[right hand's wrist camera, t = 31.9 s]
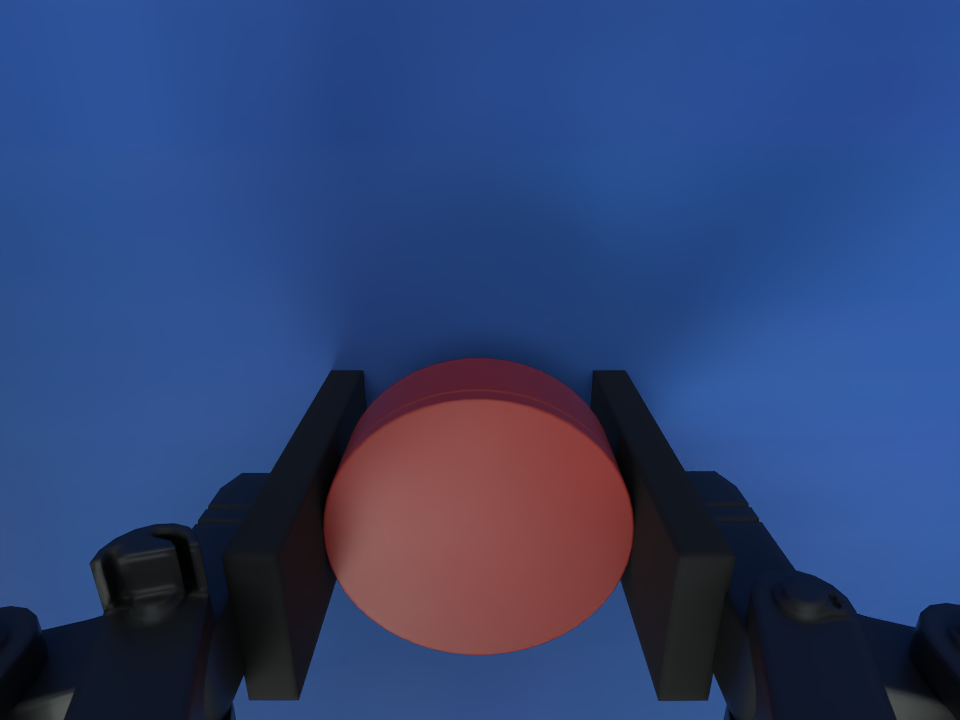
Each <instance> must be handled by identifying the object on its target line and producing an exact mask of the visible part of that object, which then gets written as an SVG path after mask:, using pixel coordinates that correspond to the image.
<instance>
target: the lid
mask: <svg viewBox="0 0 960 720" xmlns="http://www.w3.org/2000/svg"><path fill="white" fill-rule="evenodd" d="M323 535H324V542H325V549H326V552H327V556H328V559H329V563H330V565H331V568H332V570H333V572H334V574H335V576H336V578H337V580H338V582H339V584H340V585H341V587H342V588H343V590H344V591H345V593H346V594H347V595H348V597H349V598H350V599H351V600H352V601H353V602H354V604H355V605H356V606H357V607H358V608H359V609H360V610H361V611H362V612H363V613H365V614H366V615H367V616H368V617H369V618H370V619H371V620H373V621H374V622H376V623H377V624H378V625H380V626H381V627H383V628H384V629H386V630H388V631H389V632H391V633H393V634H395V635H397V636H399V637H400V638H403V639H405V640H408V641H410V642H412V643H415V644H417V645H420V646H424V647H427V648H430V649H434V650H439V651H444V652H449V653H456V654H467V655H492V654H501V653H509V652H514V651H519V650H524V649H528V648H531V647H534V646H537V645H540V644H543V643H546V642H548V641H550V640H553V639H555V638H557V637H559V636H561V635H563V634H565V633H566V632H568V631H570V630H572V629H573V628H575V627H577V626H578V625H579V624H581V623H582V622H583V621H585V620H586V619H587V618H589V617H590V616H591V615H592V614H593V613H594V612H595V611H596V610H597V609H598V608H599V607H601V606H602V604H603V603H604V602H605V601H606V600H607V598H608V597H609V596H610V595H611V593H612V592H613V591H614V589H615V587H616V586H617V584H618V582H619V581H620V579H621V578H622V575H623V573H624V571H625V568H626V566H627V564H628V561H629V557H630V553H631V549H632V544H633V535H634V516H633V508H632V504H631V499H630V495H629V492H628V490H627V487H626V485H625V482H624V480H623V477H622V475H621V472H620V469H619V467H618V464H617V462H616V459H615V457H614V454H613V452H612V449H611V447H610V444H609V442H608V439H607V437H606V434H605V431H604V429H603V427H602V426H601V424H600V422H599V420H598V419H597V417H596V415H595V414H594V413H593V411H592V410H591V409H590V408H589V406H588V405H587V404H586V403H585V402H584V401H583V400H582V399H581V398H580V397H579V396H578V395H577V394H576V393H575V392H574V391H573V390H571V389H570V388H569V387H567V386H566V385H564V384H563V383H562V382H560V381H559V380H557V379H555V378H554V377H552V376H550V375H548V374H546V373H544V372H542V371H540V370H537V369H535V368H532V367H529V366H527V365H524V364H520V363H515V362H511V361H507V360H500V359H491V358H465V359H458V360H450V361H446V362H442V363H438V364H434V365H430V366H428V367H425V368H423V369H420V370H418V371H415V372H413V373H411V374H409V375H408V376H406V377H404V378H402V379H400V380H399V381H397V382H396V383H394V384H393V385H392V386H390V387H389V388H388V389H386V390H385V391H384V392H382V393H381V394H380V395H379V396H378V397H377V398H376V399H375V400H374V401H373V402H372V403H371V404H370V406H369V407H368V408H367V410H366V411H365V412H364V414H363V415H362V416H361V418H360V420H359V421H358V423H357V425H356V427H355V429H354V431H353V433H352V435H351V438H350V440H349V442H348V445H347V447H346V450H345V452H344V455H343V457H342V459H341V462H340V464H339V467H338V469H337V472H336V474H335V477H334V479H333V481H332V484H331V487H330V490H329V492H328V495H327V499H326V504H325V509H324V515H323Z"/></svg>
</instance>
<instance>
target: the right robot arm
mask: <svg viewBox="0 0 960 720" xmlns="http://www.w3.org/2000/svg"><path fill="white" fill-rule="evenodd" d="M591 410H592V411H593V413H594V414H595V415H596V417H597V419H598V420H599V422H600V424H601V426H602V427H603V429H604V431H605V434H606V437H607V439H608V442H609V444H610V447H611V449H612V452H613V454H614V457H615V459H616V462H617V464H618V467H619V469H620V472H621V475H622V477H623V480H624V482H625V485H626V487H627V490H628V492H629V495H630V499H631V504H632V508H633V516H634V535H633V544H632V549H631V553H630V557H629V561H628V564H627V566H626V568H625V571H624V573H623V575H622V578H621V579H620V580H621V583H622V586H623V589H624V592H625V596H626V599H627V602H628V605H629V608H630V611H631V615H632V618H633V621H634V624H635V627H636V631H637V634H638V637H639V640H640V643H641V646H642V650H643V653H644V656H645V659H646V662H647V666H648V669H649V672H650V675H651V678H652V681H653V685H654V688H655V691H656V694H657V697H658V701H698V700H708V697H709V692H710V687H711V682H712V677H713V673H714V675H715V678H716V680H717V682H718V685H719V687H720V689H721V692H722V694H723V696H724V698H725V701H726V703H727V706H726V711H725V716H724V720H960V605H956V604H950V603H943V604H936V605H930V606H928V607H927V608H926V609H925V610H923V611H922V612H921V613H920V616H919V619H918V622H917V625H916V628H915V627H911V626H906V625H902V624H897V623H893V622H888V621H884V620H880V619H875V618H871V617H867V616H863V615H860V614H857V613H856V611H855V609H854V608H853V606H852V605H851V603H850V601H849V600H848V598H847V597H846V596H844V595H843V594H842V593H841V592H840V591H838V590H837V589H836V588H835V587H834V586H832V585H831V584H829V583H827V582H825V581H823V580H821V579H819V578H817V577H815V576H813V575H810V574H807V573H803V572H800V571H796V570H795V569H794V567H793V566H792V564H791V563H790V562H789V560H788V559H787V557H786V556H785V555H784V553H783V552H782V550H781V549H780V548H779V546H778V545H777V543H776V542H775V540H774V539H773V538H772V536H771V535H770V533H769V532H768V531H767V529H766V528H765V526H764V525H763V524H762V522H759V518H758V516H757V515H756V514H755V512H754V511H753V509H752V508H751V507H749V504H748V502H747V501H746V500H745V498H744V497H743V495H742V494H741V492H740V491H739V490H738V488H737V487H736V486H735V485H734V484H732V483H731V482H729V481H728V480H726V479H725V478H724V477H722V476H721V475H719V474H718V473H716V472H715V471H685V470H684V469H683V467H682V465H681V464H680V462H679V460H678V458H677V457H676V455H675V453H674V452H673V450H672V448H671V447H670V445H669V443H668V442H667V440H666V438H665V437H664V435H663V433H662V432H661V430H660V428H659V427H658V425H657V423H656V421H655V420H654V418H653V416H652V415H651V413H650V411H649V410H648V408H647V406H646V405H645V403H644V401H643V400H642V398H641V396H640V395H639V393H638V391H637V389H636V388H635V386H634V384H633V383H632V381H631V379H630V378H629V376H628V374H627V373H626V371H593V384H592V397H591ZM365 411H366V404H365V391H364V378H363V371H330V373H329V375H328V377H327V378H326V380H325V382H324V383H323V385H322V387H321V388H320V390H319V392H318V393H317V395H316V397H315V399H314V400H313V402H312V404H311V405H310V407H309V409H308V410H307V412H306V414H305V415H304V417H303V419H302V420H301V422H300V424H299V426H298V427H297V429H296V431H295V432H294V434H293V436H292V437H291V439H290V441H289V442H288V444H287V446H286V447H285V449H284V451H283V453H282V454H281V456H280V458H279V459H278V461H277V463H276V464H275V466H274V468H273V469H272V471H271V473H242V474H240V475H239V476H237V477H236V478H235V479H233V480H232V481H230V482H229V483H227V484H226V485H225V486H223V487H222V488H221V489H220V490H219V491H218V493H217V494H216V496H215V497H214V499H213V500H212V501H211V503H210V504H209V506H208V509H206V510H205V511H204V513H203V514H202V516H201V517H200V519H199V520H198V524H195V526H194V527H193V528H192V529H191V528H189V527H187V526H183V525H179V524H174V523H171V524H155V525H151V526H147V527H143V528H139V529H135V530H133V531H131V532H128V533H126V534H124V535H122V536H120V537H118V538H115V539H114V540H113V541H111V542H110V543H109V544H107V545H106V546H104V547H103V548H102V549H100V550H99V551H98V553H97V554H96V555H95V557H94V558H93V559H92V561H91V562H90V566H91V570H92V573H93V576H94V580H95V583H96V587H97V590H98V593H99V597H100V600H101V603H102V607H103V610H104V614H103V616H99V617H96V618H93V619H89V620H85V621H81V622H77V623H72V624H68V625H64V626H59V627H55V628H50V629H46V630H41V627H40V624H39V621H38V618H37V616H36V615H35V614H34V613H32V612H31V611H30V610H29V609H27V608H21V607H13V606H9V607H2V608H0V720H236V717H235V711H234V706H233V699H234V697H235V694H236V692H237V690H238V687H239V685H240V683H241V680H242V678H243V676H245V681H246V686H247V691H248V697H249V700H299V697H300V694H301V691H302V688H303V685H304V681H305V678H306V675H307V672H308V669H309V665H310V662H311V659H312V656H313V653H314V649H315V646H316V643H317V640H318V637H319V633H320V630H321V627H322V624H323V621H324V617H325V614H326V611H327V608H328V605H329V601H330V598H331V595H332V592H333V589H334V585H335V582H336V579H337V578H336V576H335V574H334V572H333V570H332V568H331V565H330V563H329V559H328V556H327V552H326V549H325V542H324V535H323V515H324V509H325V504H326V499H327V495H328V492H329V490H330V487H331V484H332V481H333V479H334V477H335V474H336V472H337V469H338V467H339V464H340V462H341V459H342V457H343V455H344V452H345V450H346V447H347V445H348V442H349V440H350V438H351V435H352V433H353V431H354V429H355V427H356V425H357V423H358V421H359V420H360V418H361V416H362V415H363V414H364V412H365Z"/></svg>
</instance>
